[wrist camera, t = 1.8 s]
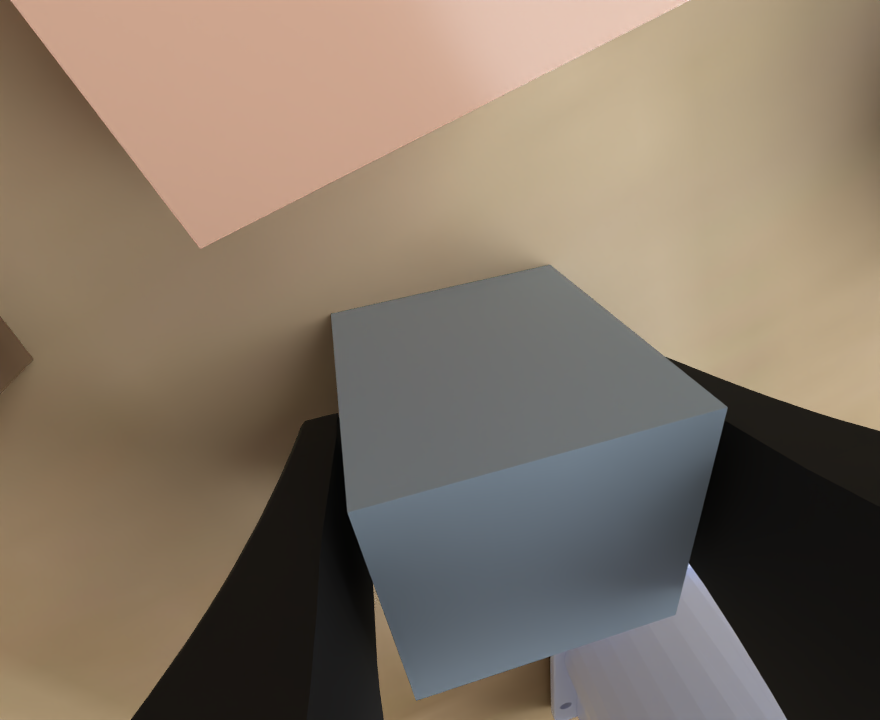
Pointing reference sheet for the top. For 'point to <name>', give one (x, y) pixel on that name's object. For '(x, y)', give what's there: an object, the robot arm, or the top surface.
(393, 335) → the slate block
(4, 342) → the walnut base
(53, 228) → the top surface
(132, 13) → the terracotta block
